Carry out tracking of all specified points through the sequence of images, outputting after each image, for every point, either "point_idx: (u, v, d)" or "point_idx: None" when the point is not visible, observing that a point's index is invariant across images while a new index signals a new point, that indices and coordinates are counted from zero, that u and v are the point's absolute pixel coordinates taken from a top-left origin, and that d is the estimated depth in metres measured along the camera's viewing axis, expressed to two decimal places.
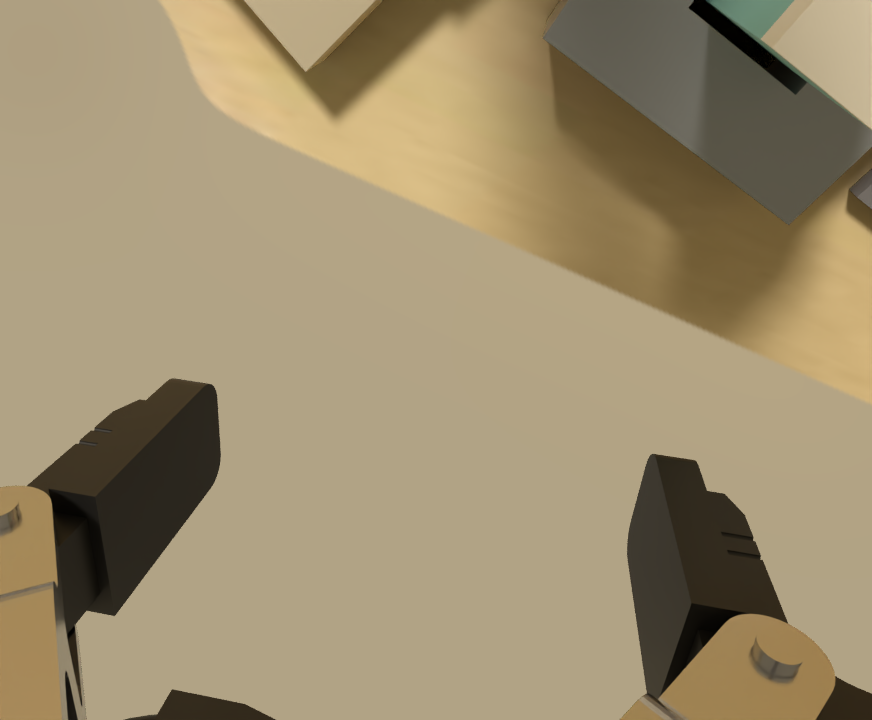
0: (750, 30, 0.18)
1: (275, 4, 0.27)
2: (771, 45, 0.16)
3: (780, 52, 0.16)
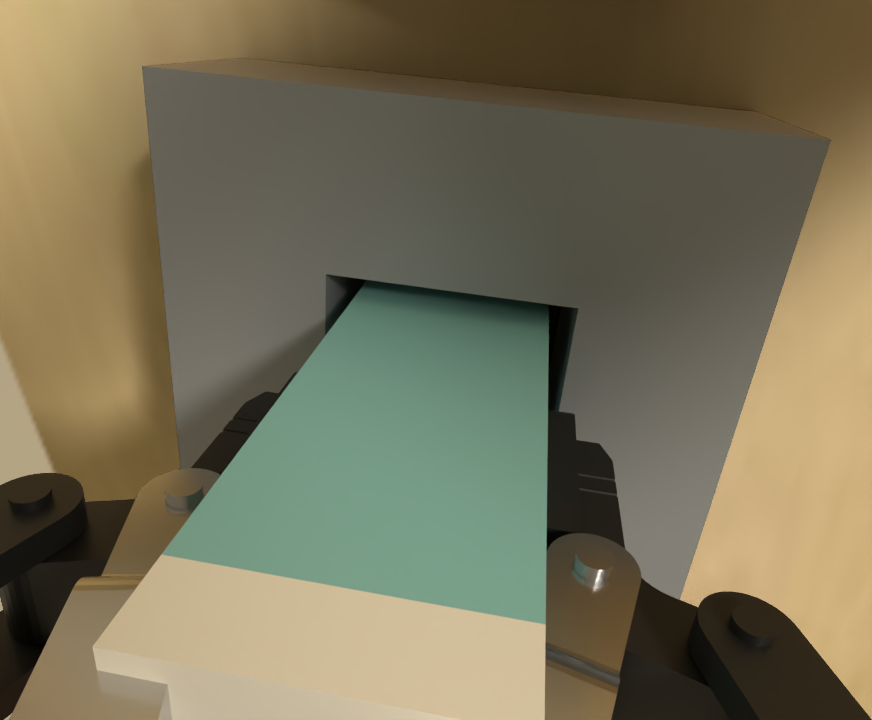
0: (217, 483, 0.08)
1: None
2: (105, 633, 0.06)
3: (98, 665, 0.06)
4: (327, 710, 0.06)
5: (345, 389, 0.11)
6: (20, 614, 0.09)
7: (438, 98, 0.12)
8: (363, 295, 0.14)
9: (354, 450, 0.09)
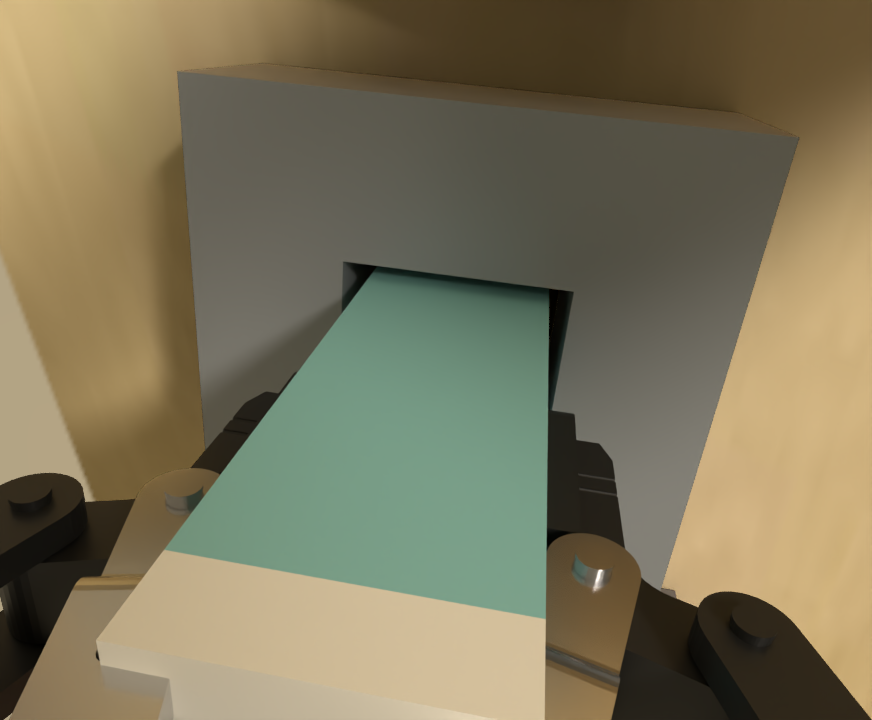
0: (219, 479, 0.08)
1: None
2: (108, 627, 0.06)
3: (101, 659, 0.06)
4: (329, 703, 0.06)
5: (346, 386, 0.11)
6: (20, 614, 0.09)
7: (446, 100, 0.13)
8: (364, 293, 0.14)
9: (355, 448, 0.09)
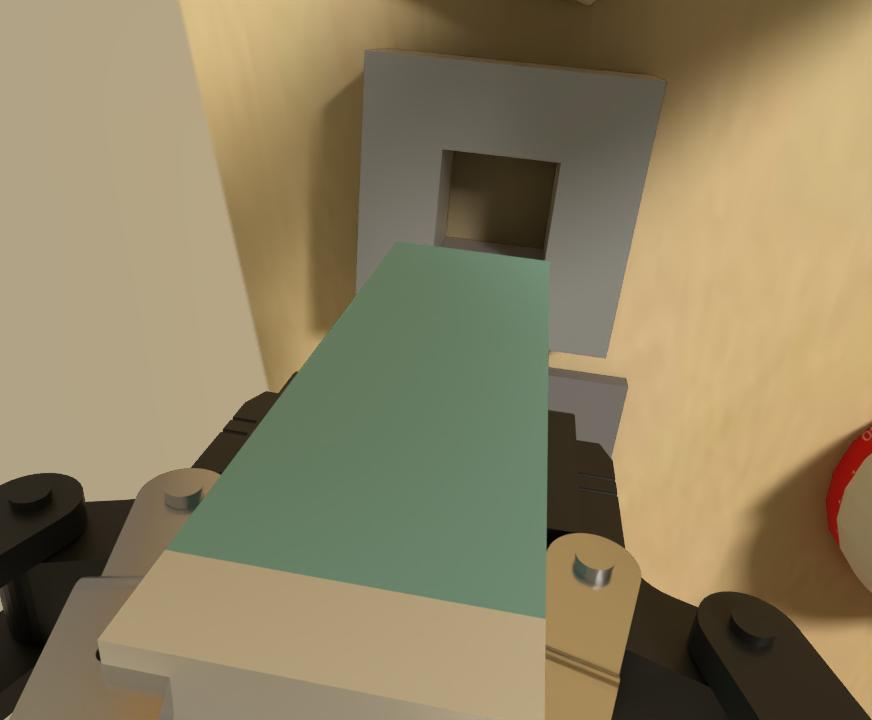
0: (219, 479, 0.08)
1: None
2: (109, 626, 0.06)
3: (103, 658, 0.06)
4: (329, 703, 0.06)
5: (346, 386, 0.11)
6: (20, 614, 0.09)
7: (499, 64, 0.27)
8: (365, 293, 0.14)
9: (355, 447, 0.09)
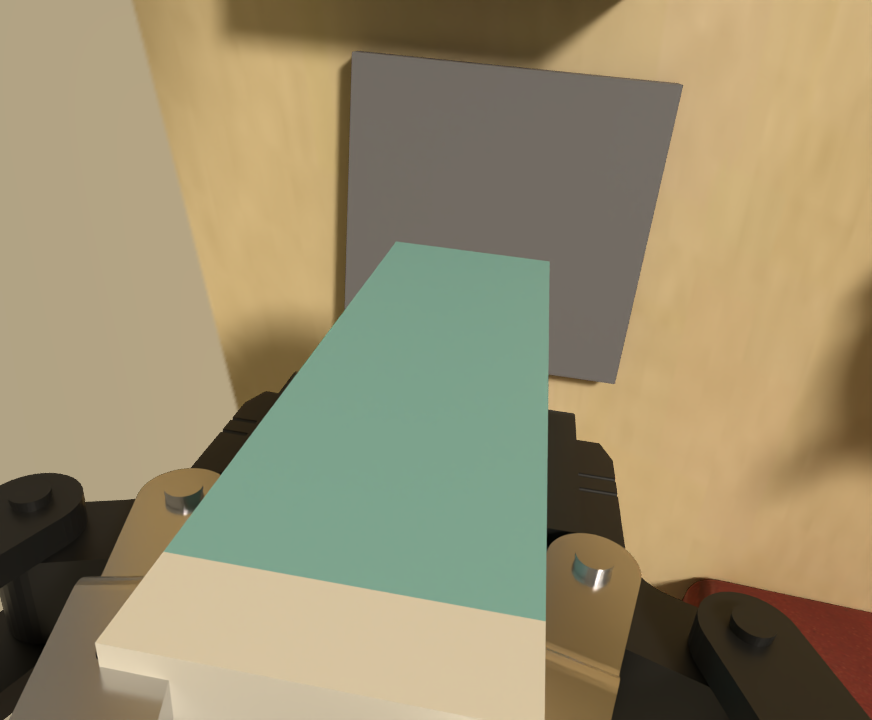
0: (218, 481, 0.08)
1: None
2: (107, 629, 0.06)
3: (101, 661, 0.06)
4: (328, 706, 0.06)
5: (346, 387, 0.11)
6: (20, 614, 0.09)
7: None
8: (364, 294, 0.14)
9: (355, 448, 0.09)
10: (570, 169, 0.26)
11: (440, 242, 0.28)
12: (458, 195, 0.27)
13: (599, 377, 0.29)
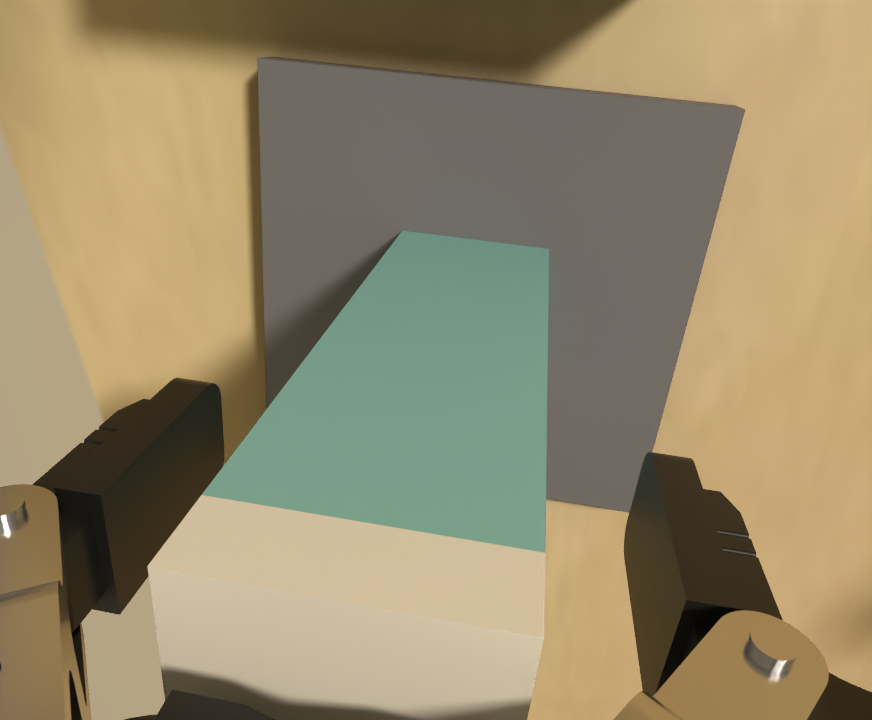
0: (247, 437, 0.09)
1: None
2: (157, 556, 0.07)
3: (152, 584, 0.07)
4: (354, 620, 0.07)
5: (360, 359, 0.11)
6: None
7: None
8: (373, 277, 0.15)
9: (370, 411, 0.10)
10: (575, 228, 0.18)
11: None
12: None
13: (614, 504, 0.21)
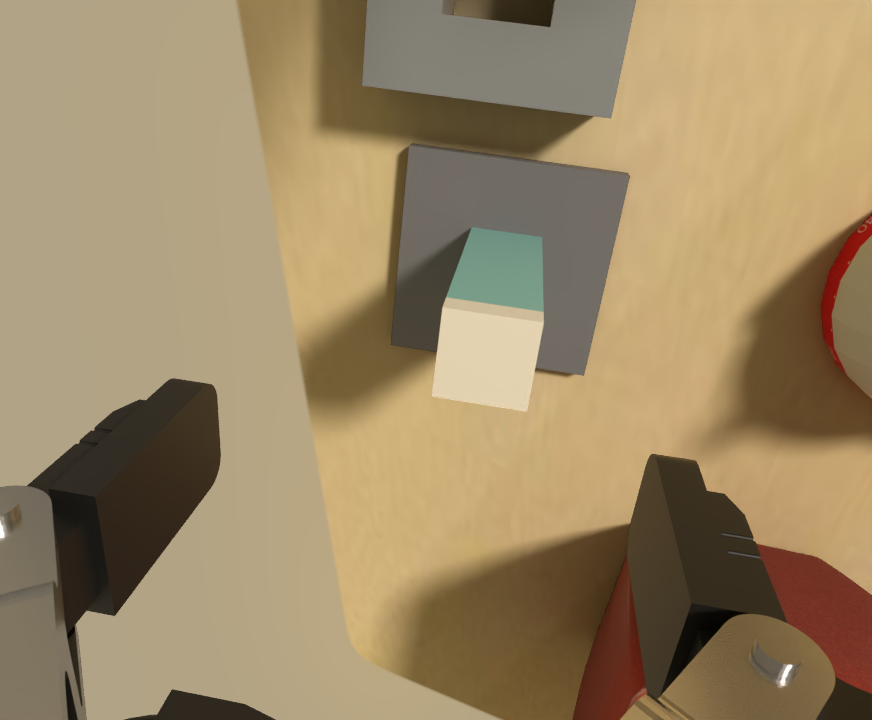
0: (450, 287, 0.29)
1: None
2: (443, 306, 0.27)
3: (442, 313, 0.27)
4: (495, 320, 0.27)
5: (475, 271, 0.32)
6: None
7: None
8: (468, 246, 0.35)
9: (484, 283, 0.30)
10: (554, 227, 0.38)
11: None
12: None
13: (573, 370, 0.42)
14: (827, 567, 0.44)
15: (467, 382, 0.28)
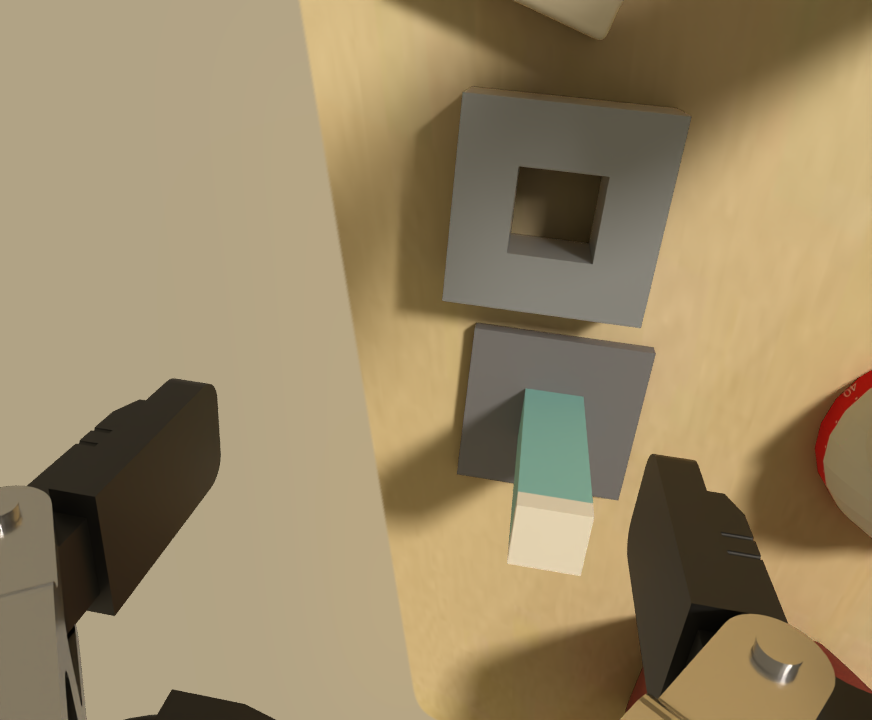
0: (519, 477, 0.38)
1: None
2: (517, 503, 0.36)
3: (516, 508, 0.36)
4: (557, 515, 0.36)
5: (535, 453, 0.40)
6: None
7: (564, 103, 0.36)
8: (525, 417, 0.44)
9: (545, 470, 0.39)
10: (594, 390, 0.47)
11: (518, 422, 0.49)
12: None
13: (609, 496, 0.50)
14: (825, 653, 0.52)
15: (535, 555, 0.37)
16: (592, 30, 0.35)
